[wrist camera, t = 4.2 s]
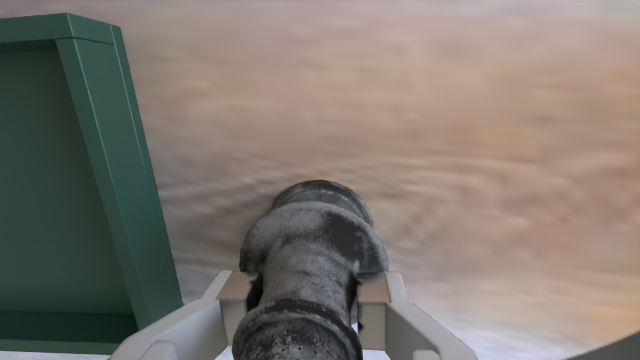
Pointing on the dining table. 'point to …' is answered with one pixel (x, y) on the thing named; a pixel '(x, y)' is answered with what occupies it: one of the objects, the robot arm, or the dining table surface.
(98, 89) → the tray
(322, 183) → the dark grey chess piece
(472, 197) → the dining table surface
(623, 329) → the dining table surface
